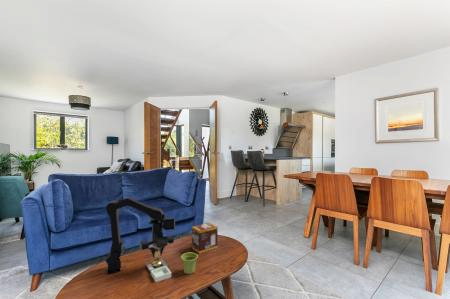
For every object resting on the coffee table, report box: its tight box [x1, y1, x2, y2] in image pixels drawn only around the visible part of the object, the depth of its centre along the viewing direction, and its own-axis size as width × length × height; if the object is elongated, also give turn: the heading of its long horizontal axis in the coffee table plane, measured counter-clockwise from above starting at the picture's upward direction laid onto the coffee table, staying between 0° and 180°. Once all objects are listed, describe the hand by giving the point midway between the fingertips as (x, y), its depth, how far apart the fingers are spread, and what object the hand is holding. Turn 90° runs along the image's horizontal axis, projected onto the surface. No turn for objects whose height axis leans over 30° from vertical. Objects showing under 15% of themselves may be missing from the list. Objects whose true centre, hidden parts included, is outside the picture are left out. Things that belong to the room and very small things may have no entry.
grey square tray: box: [145, 259, 169, 274], centre depth 130 cm, size 10×10×1 cm
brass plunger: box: [151, 259, 162, 268], centre depth 130 cm, size 5×5×2 cm
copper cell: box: [152, 247, 162, 261], centre depth 130 cm, size 4×4×7 cm
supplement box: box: [191, 222, 218, 254], centre depth 156 cm, size 10×15×16 cm
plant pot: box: [180, 252, 199, 275], centre depth 125 cm, size 9×9×9 cm
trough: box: [150, 266, 172, 283], centre depth 121 cm, size 9×9×2 cm
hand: (156, 256), depth 130 cm, fingers closed on copper cell, 4 cm apart
